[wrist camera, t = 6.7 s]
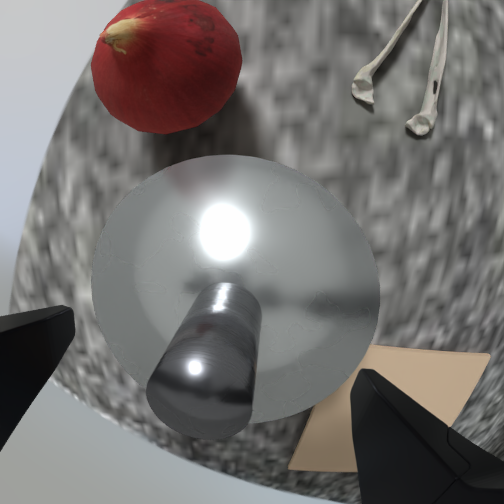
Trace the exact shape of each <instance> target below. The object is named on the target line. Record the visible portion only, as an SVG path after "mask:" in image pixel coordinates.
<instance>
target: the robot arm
mask: <svg viewBox="0 0 504 504" xmlns="http://www.w3.org/2000/svg"><path fill="white" fill-rule="evenodd" d="M74 336H75V321H74V312H73V310H72V308H70V307H67V306H64V305H59V306H53V307H48V308H43V309H38V310H32V311H27V312H22V313H16V314H11V315H5V316H0V451H1V450H2V448H3V446H4V445H5V443H6V442H7V440H8V439H9V437H10V435H11V434H12V432H13V431H14V429H15V428H16V426H17V425H18V423H19V421H20V420H21V418H22V416H23V415H24V414H25V412H26V411H27V409H28V408H29V406H30V405H31V403H32V402H33V401H34V399H35V398H36V396H37V395H38V393H39V392H40V390H41V389H42V388H43V386H44V385H45V383H46V382H47V381H48V379H49V378H50V376H51V375H52V374H53V372H54V371H55V369H56V367H57V366H58V364H59V362H60V360H61V359H62V357H63V355H64V354H65V352H66V350H67V348H68V347H69V345H70V343H71V342H72V340H73V338H74ZM350 405H351V425H352V439H353V446H354V452H355V458H356V464H357V471H358V478H359V485H360V492H361V499H362V504H504V462H503V461H502V460H500V459H498V458H497V457H495V456H493V455H492V454H490V453H488V452H487V451H485V450H483V449H482V448H480V447H479V446H477V445H475V444H474V443H472V442H471V441H469V440H468V439H466V438H465V437H463V436H462V435H461V434H459V433H458V432H456V431H455V430H454V429H452V428H451V427H448V425H447V424H446V423H444V422H443V421H442V420H440V419H439V418H437V417H436V416H435V415H433V414H432V413H431V412H429V411H428V410H427V409H425V408H424V407H423V406H421V405H420V404H419V403H417V402H416V401H415V400H413V399H412V398H411V397H409V396H408V395H407V394H406V393H404V392H403V391H402V390H400V389H399V388H398V387H396V386H395V385H394V384H392V383H391V382H390V381H388V380H387V379H386V378H385V377H383V376H382V375H381V374H379V373H378V372H377V371H375V370H374V369H367V368H362V369H360V370H359V372H358V374H357V377H356V379H355V381H354V384H353V386H352V388H351V392H350Z"/></svg>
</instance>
